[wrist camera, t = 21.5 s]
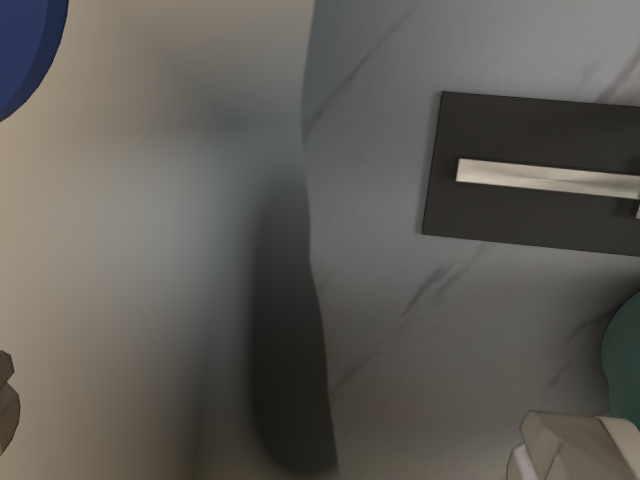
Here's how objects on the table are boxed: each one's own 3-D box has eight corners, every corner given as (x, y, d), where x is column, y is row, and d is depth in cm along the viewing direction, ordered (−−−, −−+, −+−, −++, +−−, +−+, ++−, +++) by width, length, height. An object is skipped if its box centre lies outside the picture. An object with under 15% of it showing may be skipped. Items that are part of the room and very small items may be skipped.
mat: (421, 232, 40) (421, 234, 39) (442, 91, 36) (442, 91, 35) (741, 265, 38) (744, 267, 37) (797, 119, 34) (801, 120, 34)
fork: (451, 195, 38) (452, 199, 37) (460, 137, 36) (462, 140, 35) (722, 223, 36) (731, 228, 36) (743, 165, 35) (753, 168, 34)
